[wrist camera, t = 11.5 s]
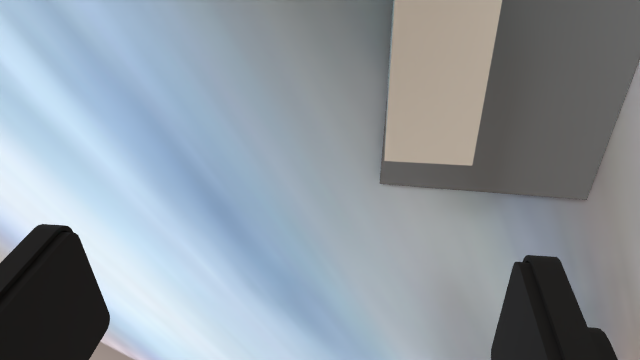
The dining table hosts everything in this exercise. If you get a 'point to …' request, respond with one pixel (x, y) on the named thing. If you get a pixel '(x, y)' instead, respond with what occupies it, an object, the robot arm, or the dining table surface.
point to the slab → (438, 78)
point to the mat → (544, 101)
